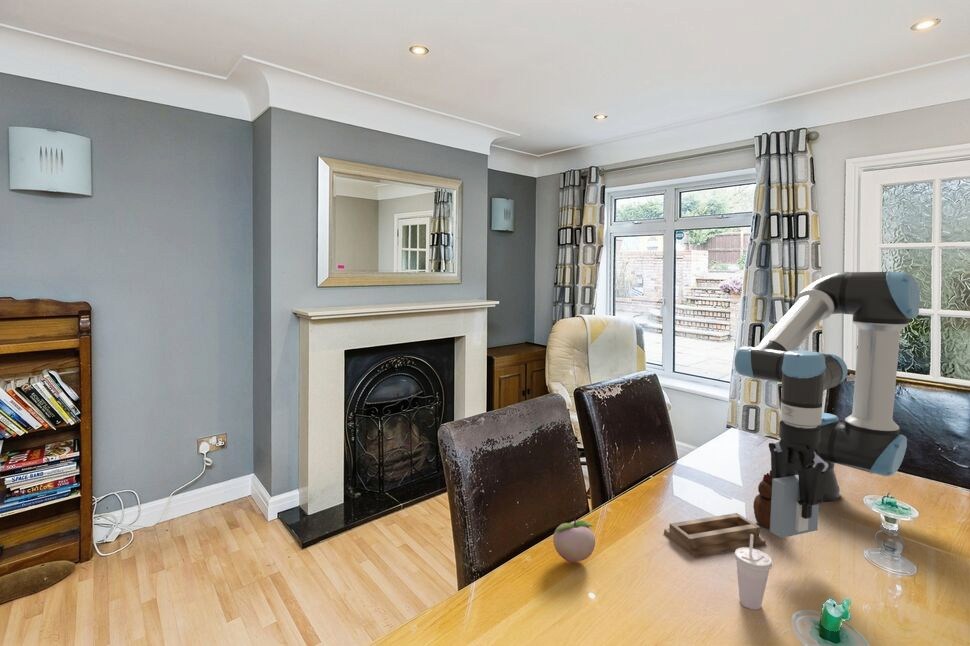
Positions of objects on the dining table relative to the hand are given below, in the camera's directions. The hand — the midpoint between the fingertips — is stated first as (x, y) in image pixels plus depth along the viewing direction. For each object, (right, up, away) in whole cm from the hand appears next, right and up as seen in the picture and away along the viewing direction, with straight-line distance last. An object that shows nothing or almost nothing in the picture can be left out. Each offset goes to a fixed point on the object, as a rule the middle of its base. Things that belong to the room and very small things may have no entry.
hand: (793, 525), depth 107 cm
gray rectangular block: (0, -1, 0) cm, 1 cm away
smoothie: (-17, -10, -13) cm, 23 cm away
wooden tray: (-13, -7, +10) cm, 18 cm away
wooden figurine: (+4, -7, +17) cm, 19 cm away
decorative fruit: (-48, -9, 0) cm, 49 cm away
